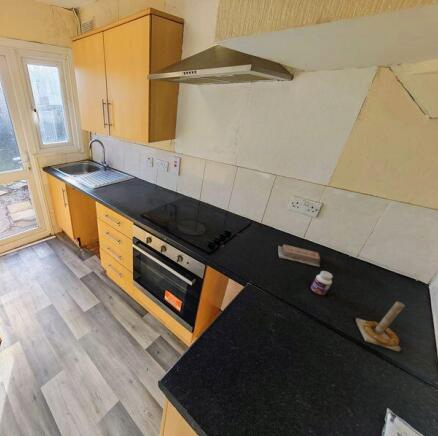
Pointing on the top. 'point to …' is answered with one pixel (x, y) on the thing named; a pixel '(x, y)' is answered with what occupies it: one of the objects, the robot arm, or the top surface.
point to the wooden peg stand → (382, 326)
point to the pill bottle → (322, 283)
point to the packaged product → (299, 255)
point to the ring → (393, 336)
